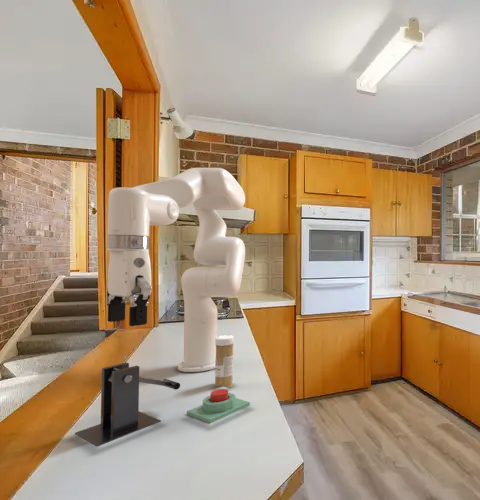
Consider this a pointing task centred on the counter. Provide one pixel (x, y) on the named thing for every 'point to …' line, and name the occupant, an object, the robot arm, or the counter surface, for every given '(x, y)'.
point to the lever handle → (154, 381)
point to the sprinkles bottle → (224, 361)
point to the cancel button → (219, 395)
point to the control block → (217, 408)
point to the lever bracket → (118, 406)
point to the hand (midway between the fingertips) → (126, 322)
